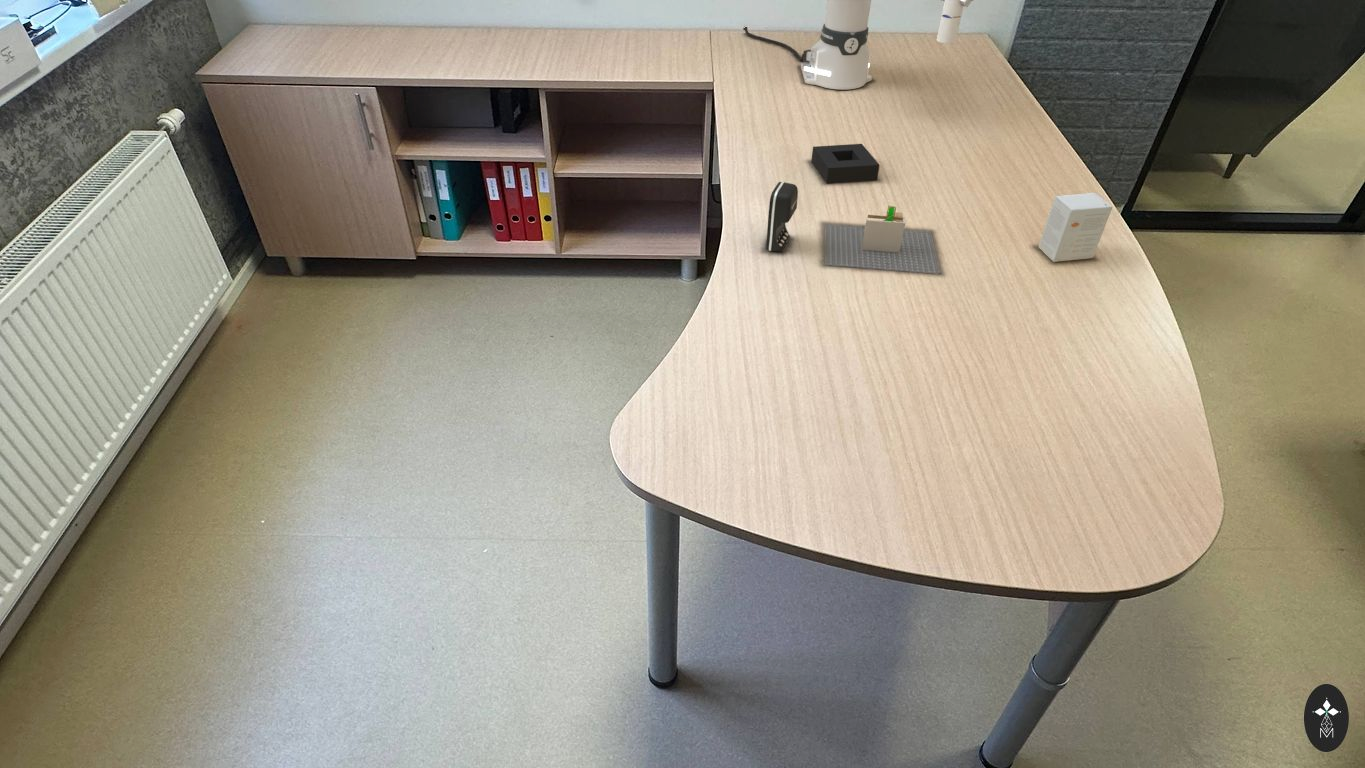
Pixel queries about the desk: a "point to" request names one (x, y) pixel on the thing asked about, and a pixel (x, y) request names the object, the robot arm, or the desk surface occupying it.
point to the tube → (950, 21)
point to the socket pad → (845, 163)
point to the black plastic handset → (780, 215)
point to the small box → (1074, 226)
